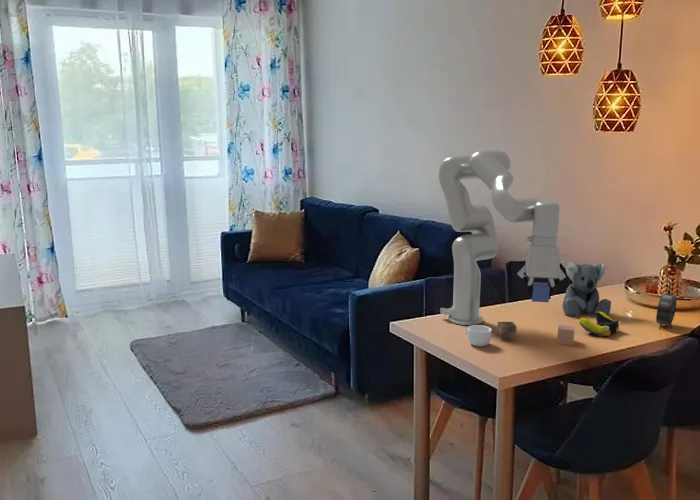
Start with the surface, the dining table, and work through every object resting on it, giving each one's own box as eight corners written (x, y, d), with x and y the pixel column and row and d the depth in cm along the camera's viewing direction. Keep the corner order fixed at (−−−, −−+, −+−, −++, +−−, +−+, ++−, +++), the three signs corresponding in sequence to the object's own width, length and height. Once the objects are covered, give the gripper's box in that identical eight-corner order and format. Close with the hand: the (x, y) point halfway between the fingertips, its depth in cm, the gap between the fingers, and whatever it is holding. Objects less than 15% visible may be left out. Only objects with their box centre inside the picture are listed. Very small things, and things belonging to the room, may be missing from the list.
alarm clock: (660, 321, 241) (664, 278, 238) (676, 324, 238) (681, 280, 235) (654, 329, 232) (658, 284, 229) (670, 331, 229) (675, 286, 226)
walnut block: (500, 340, 219) (501, 326, 218) (497, 335, 223) (497, 321, 223) (515, 340, 219) (516, 326, 218) (511, 335, 224) (512, 321, 223)
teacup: (496, 345, 214) (497, 329, 213) (480, 350, 209) (480, 333, 208) (473, 337, 221) (473, 322, 220) (457, 341, 217) (457, 326, 216)
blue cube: (532, 301, 206) (533, 286, 205) (530, 297, 211) (531, 282, 210) (548, 302, 206) (549, 287, 205) (546, 298, 211) (547, 282, 210)
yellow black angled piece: (575, 333, 227) (603, 340, 220) (577, 317, 226) (604, 324, 219) (597, 324, 237) (624, 331, 230) (598, 309, 236) (625, 315, 229)
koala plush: (564, 317, 246) (568, 266, 242) (553, 304, 263) (557, 256, 260) (612, 318, 244) (616, 267, 241) (598, 305, 262) (602, 257, 258)
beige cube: (556, 343, 216) (558, 328, 215) (557, 338, 221) (558, 324, 220) (573, 345, 214) (574, 330, 213) (573, 340, 219) (574, 326, 218)
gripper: (517, 242, 202) (513, 299, 206) (574, 244, 200) (569, 302, 204) (514, 237, 209) (510, 292, 213) (570, 240, 207) (565, 295, 211)
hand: (539, 296), depth 208 cm, fingers closed on blue cube, 4 cm apart
